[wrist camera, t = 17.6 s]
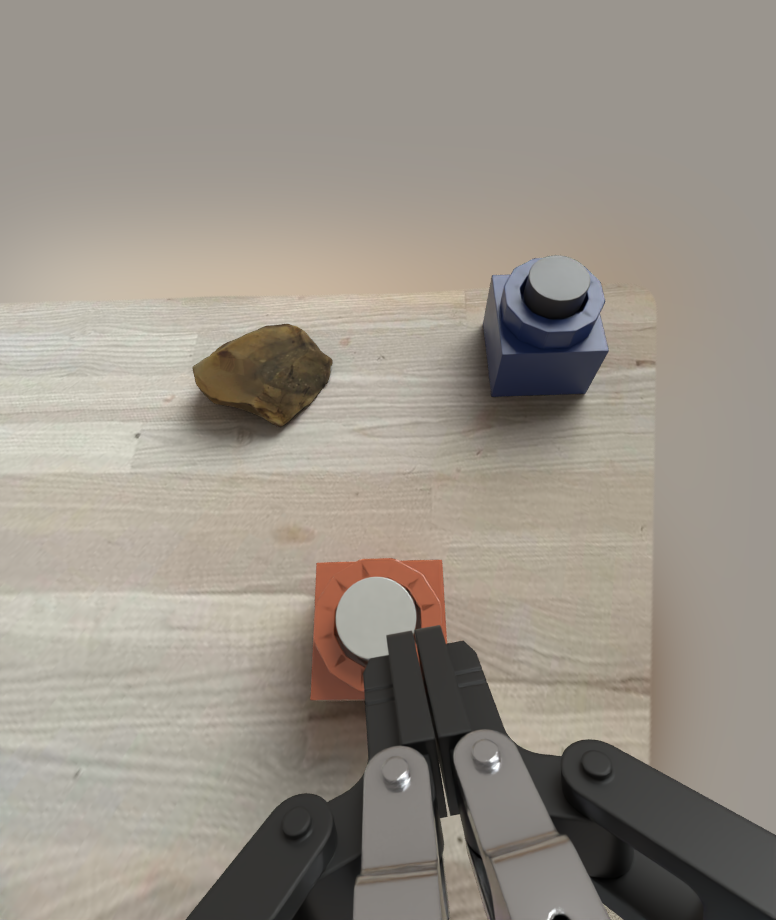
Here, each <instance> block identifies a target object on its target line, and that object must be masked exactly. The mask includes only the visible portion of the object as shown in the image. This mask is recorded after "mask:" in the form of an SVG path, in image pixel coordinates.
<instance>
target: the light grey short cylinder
mask: <svg viewBox="0 0 776 920" xmlns="http://www.w3.org/2000/svg"><path fill="white" fill-rule="evenodd" d="M336 628H337V632H338V635H339V637H340V639H341V641H342V642H343V644H344V645H345V646H346V648H347V649H348V650H350V651H351V652H352V653H353V654H354V655H355V656H357V657H358V658H360V659H362V660H364V661H367V662H368V661H369V659H370V658H374V657H380V656H385V655H389V653H388V646H387V639H386V635H389V634H394V633H400V632H405V631H410V630H412V632H413V637H414V634H415V632H414V630H415V629H416V609H415V605H414V602H413V600H412V598H411V596H410V595H409V593H408V592H407V591H406V589H405V588H404V587H402V586H401V585H400V584H399V583H397V582H395V581H393V580H391V579H388V578H384V577H369V578H365V579H362V580H360V581H358V582H356V583H355V584H353V585H352V586H351V587H349V588H348V589H347V590H346V592H345V593H344V594H343V596H342V597H341V599H340V601H339V604H338V606H337V611H336Z"/></svg>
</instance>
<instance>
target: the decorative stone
mask: <svg viewBox="0 0 776 920" xmlns="http://www.w3.org/2000/svg"><path fill="white" fill-rule="evenodd" d="M331 366H332V359H331V358H330V357H328V356H327V355H325V354H324V353H323V352H321V351H320V349H319V348H318V346H317V345H316V344H315V343H314V342H313V340H312V339H311V338H310V337H309V336H308V335H307V333H306V332H305V331H303V330H302V329H300V328H298V327H296V326H293V325H290V324H282V325H273V326H265V327H262V328H260V329H258V330H256V331H253V332H251V333H248V334H246V335H244V336H242V337H240V338H238V339H235V340H233V341H230V342H227V343H225V344H223V345H222V346H220V347H219V348H218V349H217V350H216V351H215V352H213V353H212V354H211V355H210V356H209V357H207V358H205V359H203V360H202V361H201V362H199V363H198V364H196V365H194V366H193V373H194V377H195V382H196V384H197V386H198V387H199V389H200V390H201V391H202V392H203V393H204V394H205V395H206V397H207V398H208V399H209V400H210V401H212V402H213V403H214V404H219V405H225V406H231V407H235V408H240V409H242V410H245V411H248V412H251V413H253V414H255V415H258V416H260V417H262V418H264V419H266V420H267V421H268V422H270V423H272V424H274V425H276V426H278V427H282V426H283V425H285V424H286V423H287V422H288V421H290V420H291V419H292V418H293V417H294V416H295V415H296V414H297V413H298V412H299V411H301V409H302V408H304V407H305V406H307V405H309V404H310V403H311V402H312V401H313V399H314V398H315V397H316V396H317V394H318V393H319V392H320V391H321V390H322V388H323V386H324V385H325V384H326V383H327V382H328V380H329V376H330V367H331Z"/></svg>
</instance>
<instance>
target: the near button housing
mask: <svg viewBox="0 0 776 920" xmlns="http://www.w3.org/2000/svg"><path fill="white" fill-rule="evenodd" d="M540 259H542V258H534V259H532V260H530V261H528V262H526V263H524V264H522V265H520V266H518V267H516V268H515V269H514V270H513V272H512V273H511V275H492V278H491V283H490V289H489V294H488V299H487V305H486V310H485V316H484V321H483V327H484V336H485V345H486V354H487V362H488V371H489V380H490V388H491V396H492V397H501V396H531V395H561V394H585V393H586V391H587V390H588V388H589V386H590V384H591V382H592V380H593V379H594V377H595V375H596V373H597V371H598V370H599V368H600V366H601V364H602V362H603V360H604V359H605V357H606V355H607V353H608V351H609V350H608V345H607V341H606V337H605V333H604V328H603V324H602V320H601V316H600V312H601V310H602V308H603V306H604V304H605V298H604V294H603V290H602V286H601V282H600V281H599V280H598V279H597V278H596V277H595V276H594V275H593V274H592V273H591V272H590V271H589V270H588V269H587V268H586V267H585V266H584V267H585V268H586V269H587V271H588V273H589V276H590V286H589V288H588V291H587V293H586V296H585V298H584V300H583V303H582V305H581V307H580V309H579V310H578V311H577V312H576V313H575V314H574V315H572V316H571V317H568V318H565V319H556V320H551V319H547V318H545V317H542V316H539V315H537V314H535V313H533V312H532V311H531V310H530V309H529V308H528V307H527V305H526V303H525V301H524V289H525V286H526V282H527V278H528V274H529V271H530V269H531V267H532V266H533V264H534V263H535V262H537V261H538V260H540Z"/></svg>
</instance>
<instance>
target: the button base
mask: <svg viewBox="0 0 776 920" xmlns="http://www.w3.org/2000/svg"><path fill="white" fill-rule="evenodd" d="M369 577H384V578H388V579H391V580H393V581H395V582H397V583H399V584H400V585H401V586H402V587H404V588H405V589H406V591H407V592H408V593H409V595H410V596H411V598H412V600H413V602H414V605H415V609H416V629H421V628H426V627H431V626H437V625H440V626H441V628H442V632H443V635H444V638H445V642H446V644H447V635H446V618H445V601H444V584H443V567H442V560H408V561H398V560H396V559H393V558H380V559H360V560H358V561H357V562H325V563H317V564H316V587H315V609H314V632H313V654H312V677H311V700H314V701H326V702H331V701H365V696H364V693H365V692H364V681H363V673H364V670H365V668H366V666H367V664H368V662H367V661H364V660H362V659H360V658H358V657H357V656H355V655H354V654H353V653H352V652H351V651H350V650H348V649H347V648H346V646H345V645H344V644H343V642H342V641H341V639H340V637H339V635H338V632H337V628H336V611H337V606H338V604H339V601H340V599H341V597H342V596H343V594H344V593H345V592H346V590H347V589H348V588H349V587H351V586H352V585H353V584H355V583H356V582H358V581H360V580H362V579H365V578H369ZM414 642H415V646H416V651H417V645H416V639H415V634H414ZM417 656H418V651H417ZM418 660H419V658H418ZM419 665H420V664H419Z"/></svg>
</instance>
